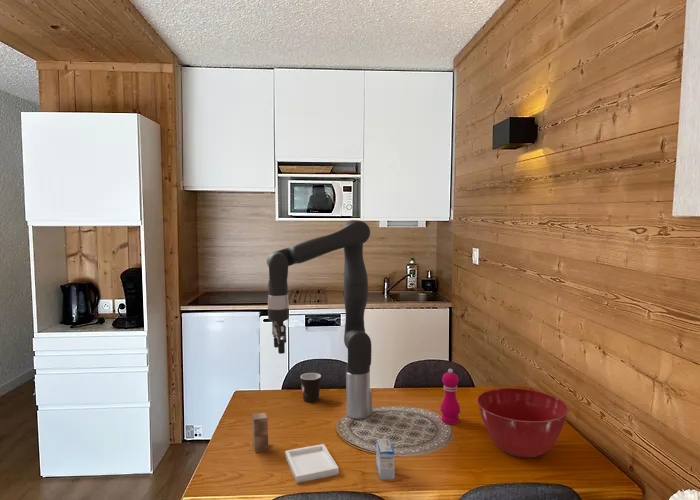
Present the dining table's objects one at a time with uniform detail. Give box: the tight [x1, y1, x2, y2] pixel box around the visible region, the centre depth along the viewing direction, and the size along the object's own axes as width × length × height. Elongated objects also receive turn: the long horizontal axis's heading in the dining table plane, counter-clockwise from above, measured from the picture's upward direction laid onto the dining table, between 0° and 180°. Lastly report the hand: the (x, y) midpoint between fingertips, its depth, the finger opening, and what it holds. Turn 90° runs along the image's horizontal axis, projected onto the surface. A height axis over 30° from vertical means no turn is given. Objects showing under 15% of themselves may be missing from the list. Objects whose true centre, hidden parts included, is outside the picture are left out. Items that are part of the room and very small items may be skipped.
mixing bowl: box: [476, 387, 570, 459], centre depth 158 cm, size 28×28×16 cm
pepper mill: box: [440, 368, 461, 425], centre depth 179 cm, size 7×7×20 cm
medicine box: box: [375, 438, 396, 481], centre depth 145 cm, size 8×4×9 cm, turn 5°
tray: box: [284, 443, 340, 484], centre depth 150 cm, size 13×16×2 cm
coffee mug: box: [300, 372, 322, 403], centre depth 203 cm, size 12×9×10 cm
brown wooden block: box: [251, 412, 269, 453], centre depth 161 cm, size 4×4×11 cm
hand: (279, 350), depth 176 cm, fingers open, 8 cm apart
